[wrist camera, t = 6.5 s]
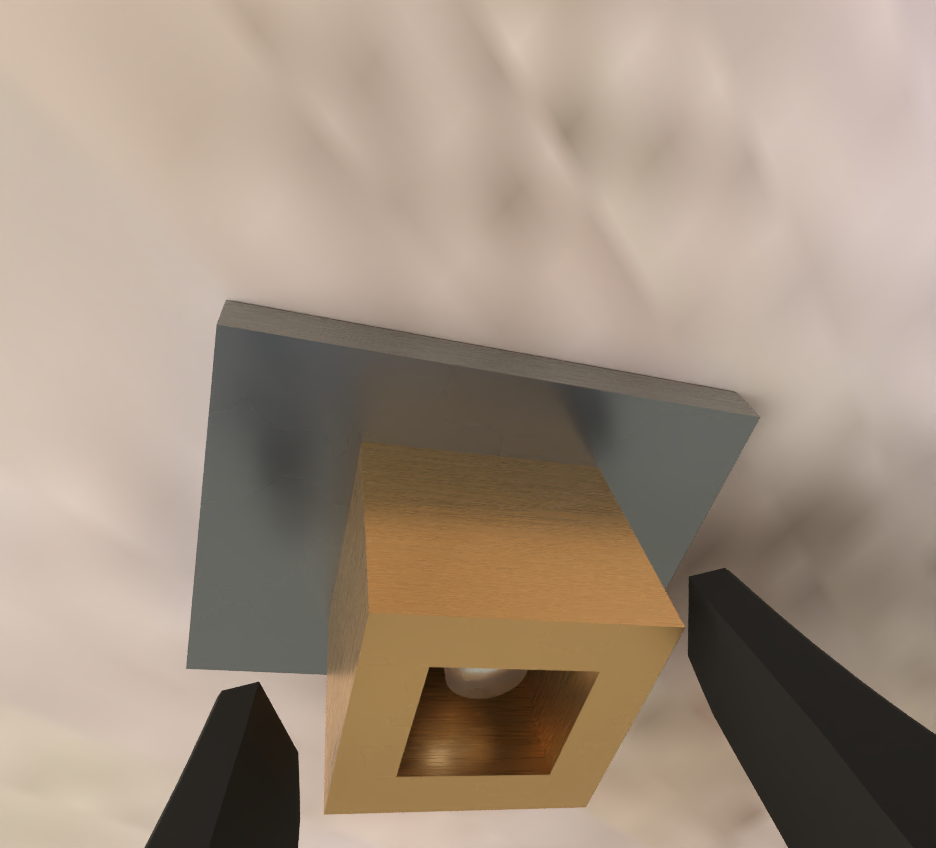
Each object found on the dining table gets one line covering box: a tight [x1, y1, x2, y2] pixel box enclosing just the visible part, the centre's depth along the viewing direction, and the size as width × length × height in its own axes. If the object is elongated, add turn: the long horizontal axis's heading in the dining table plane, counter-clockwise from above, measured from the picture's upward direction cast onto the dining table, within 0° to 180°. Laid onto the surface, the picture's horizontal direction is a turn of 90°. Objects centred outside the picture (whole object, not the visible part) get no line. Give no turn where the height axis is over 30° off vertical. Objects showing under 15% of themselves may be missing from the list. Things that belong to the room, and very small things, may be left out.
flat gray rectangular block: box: [186, 300, 760, 699], centre depth 13 cm, size 10×8×4 cm
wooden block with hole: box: [324, 441, 685, 814], centre depth 12 cm, size 5×5×4 cm
